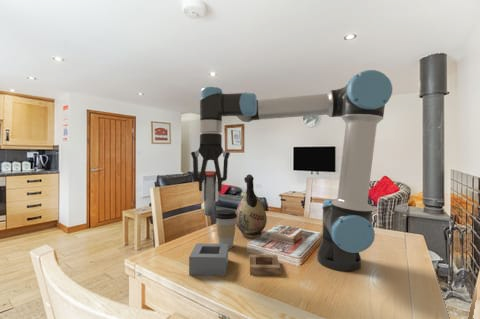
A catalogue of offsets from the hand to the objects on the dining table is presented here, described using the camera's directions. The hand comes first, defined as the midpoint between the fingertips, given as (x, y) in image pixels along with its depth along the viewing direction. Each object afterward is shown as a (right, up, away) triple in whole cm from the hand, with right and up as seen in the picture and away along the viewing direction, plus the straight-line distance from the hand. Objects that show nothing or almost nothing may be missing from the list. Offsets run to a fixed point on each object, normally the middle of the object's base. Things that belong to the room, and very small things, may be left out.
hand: (210, 200), depth 86 cm
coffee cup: (+4, -23, +19) cm, 31 cm away
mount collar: (+19, -24, 0) cm, 30 cm away
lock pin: (0, -5, 0) cm, 5 cm away
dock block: (0, -23, +1) cm, 23 cm away
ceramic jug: (+16, -23, +34) cm, 44 cm away
